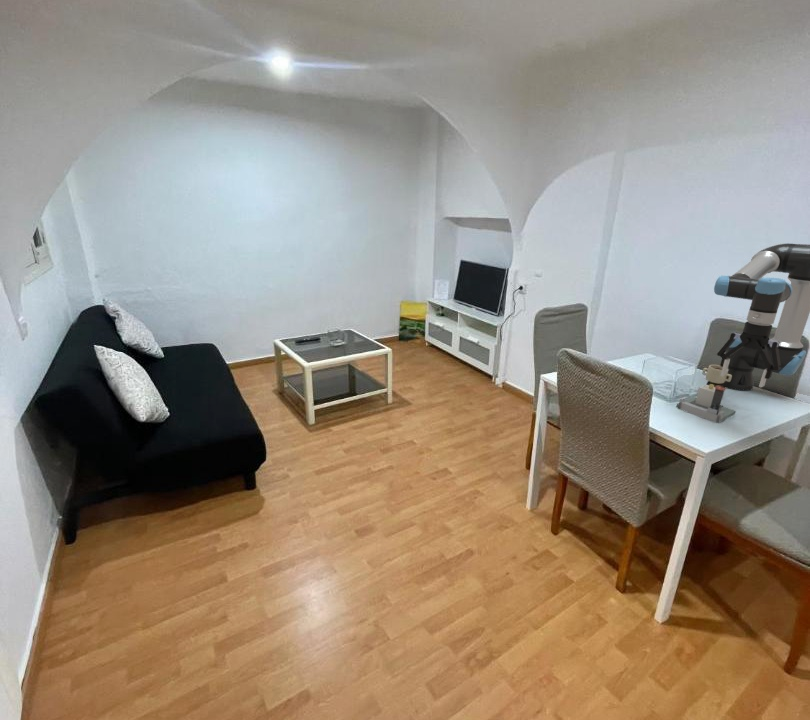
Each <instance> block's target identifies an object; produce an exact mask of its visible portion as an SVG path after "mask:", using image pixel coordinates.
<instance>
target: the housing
mask: <svg viewBox="0 0 810 720" xmlns="http://www.w3.org/2000/svg"><path fill="white" fill-rule="evenodd" d="M714 392H715V387H714V385H713V384H710V385H706V384H704V385H702V386H699V387H698V391H697V396H696V402H695V403H697V404H700V405H702V406H705V407H710V406H711V403H712V399H713V396H714Z"/></svg>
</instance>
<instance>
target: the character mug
mask: <svg viewBox="0 0 810 720" xmlns="http://www.w3.org/2000/svg"><path fill="white" fill-rule="evenodd" d="M722 368H723V367H721V366H720V365H719V364H709V365H708V368H707V367H704V368H703V369H702V372H701V373H702V375H703V376H705V380H707V382H706V384H705V385H710V384H713V385H714V387H715V386H716V385H720V386H721V383H724V382H725V381H728V382H730V381H731V378H732V375H730V374H727V373H728V369H727V372H726V375H725V376H720V375H721V371H722ZM706 371H707V372H706ZM727 376H729V378H728V379H726V377H727Z"/></svg>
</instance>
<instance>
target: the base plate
mask: <svg viewBox="0 0 810 720" xmlns="http://www.w3.org/2000/svg"><path fill="white" fill-rule="evenodd" d="M696 398H697V396H691V397H689V398H685V397H681V398H679V402H678V403H676V405H675V408H677V409H678V410H680V411H684V412H686V413H690V414H692V415H694V416H697V417H700V418H703V419H704V420H708V421H711V422H714V423H716V424H719V423H721V422H723V421H725V420H727V419H729V418H731V417H732V416H734V415H735V414H736V413H737V410H735V409H732V408H729V407H727V406H724V405H722V404H720V407H719V408H721V411H720V412H719V413H718V414H717V415H716V414H713V413H710V412H707V410H708V407H705V406H702V405H700V404H697V403H695V402H696Z"/></svg>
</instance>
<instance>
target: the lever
mask: <svg viewBox="0 0 810 720" xmlns="http://www.w3.org/2000/svg"><path fill="white" fill-rule="evenodd" d="M726 390H727V388H726V387H724V386H720V385H716V386H715V392H714V396H713V399H712V403H711V406H710V407H708V410H707V412H710V413H713V414H716V415H717V414H718V413H719V412H720V411H721V408H719V407H720V405H722V404H721V403H722V400H723V396H724V393H725V391H726Z"/></svg>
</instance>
